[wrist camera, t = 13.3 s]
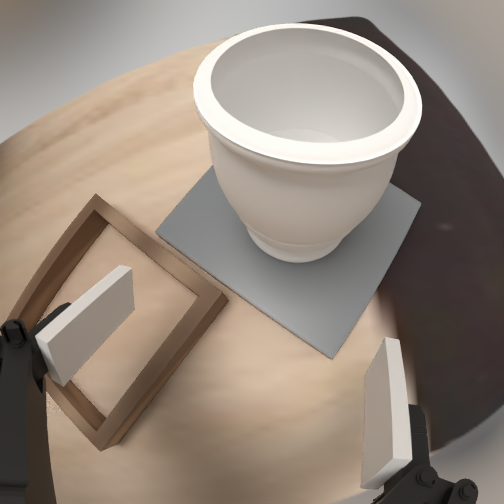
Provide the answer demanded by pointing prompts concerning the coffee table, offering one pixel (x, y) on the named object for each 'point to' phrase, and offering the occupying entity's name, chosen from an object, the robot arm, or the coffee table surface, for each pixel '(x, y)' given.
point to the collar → (167, 356)
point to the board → (288, 273)
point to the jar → (304, 131)
